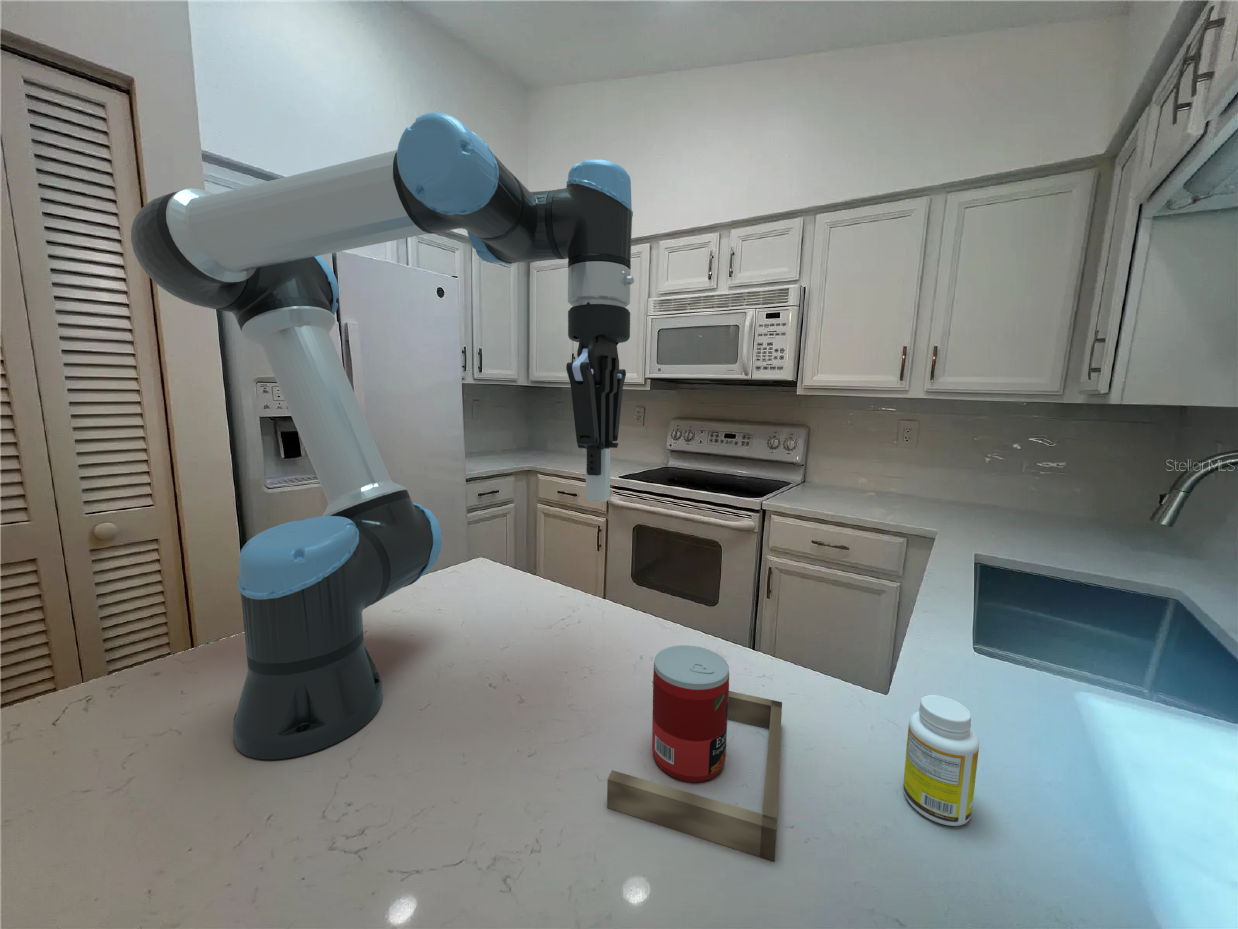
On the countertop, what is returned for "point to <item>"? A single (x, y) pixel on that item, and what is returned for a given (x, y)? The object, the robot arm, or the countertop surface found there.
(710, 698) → the canned food
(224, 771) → the countertop surface
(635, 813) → the bay
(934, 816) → the supplement bottle
